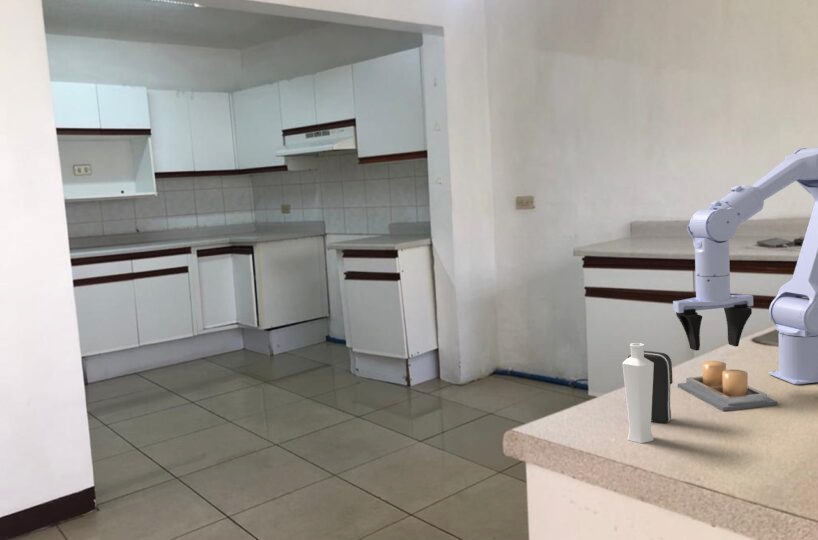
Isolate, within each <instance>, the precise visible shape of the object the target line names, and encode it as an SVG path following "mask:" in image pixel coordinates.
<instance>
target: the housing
mask: <svg viewBox="0 0 818 540" xmlns="http://www.w3.org/2000/svg"><path fill="white" fill-rule="evenodd" d="M748 378H749V377H748V372H747V371H745V370H742V369H726V370H724V371H723V372H722V380H723V385H720V386H710V387H709V386H707V385H705V384H703V375H701V376H700V375H699V376H691V377H690V376H689V377H686V378H685V379H686V382H682V383H679V382H678V383H677V387H678V388H679V389H681V390H683V391H685V392H687V393H688V394H691V395H692V396H694V397H696V398H697V399H700V400H701V401H703V402H705V403H707V404H709V405H711V406H713V407H715V408H716V409H719V410H721V411H722V412H726V411H727V412H728V411H734V410H743V409H752V408H753V409H754V408H763V407H772V406H778V404H779V403H778V401H777V400H776V399H773V398H771V397H769V396H768V394H767V393H765V392H762V391H761V390H758V389H756V388H753V387H752V386H749V384H748V380H749V379H748Z"/></svg>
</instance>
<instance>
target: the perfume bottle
mask: <svg viewBox="0 0 818 540" xmlns="http://www.w3.org/2000/svg"><path fill="white" fill-rule="evenodd" d="M629 347H630V354H631V357H629V358H628V357H627V358H626V359H624V361H623V362H622V364H621V365H622V370H623V381H624V383H623V384H624V390H625V391H624V392H625V400H626V410H627V421H628V428H629V430H628V434H627V435H628V436H627V441H632V442H634V443H639V444H644V443H645V444H646V443H649V442H652V441H654V439H655V438H654V436H653V433H652V421H651V413H652V391H653V369H654V363H653V362H651V361H650V360H648V359H646V358H645V357H644V351H645V350H644V349H645V348H644V347H645V344H644V343H642V342H636V343H635V342H633V343H632V342H631V343H630V344H629Z"/></svg>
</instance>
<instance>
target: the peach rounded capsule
mask: <svg viewBox="0 0 818 540" xmlns="http://www.w3.org/2000/svg"><path fill="white" fill-rule="evenodd" d="M724 370H727V363H726V362H724V361H720V360H705V361H703V362H702V376H703V384H705V385H707V386H709V387H710V386H720V385H723V380H722V372H723V371H724Z"/></svg>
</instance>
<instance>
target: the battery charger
mask: <svg viewBox="0 0 818 540" xmlns="http://www.w3.org/2000/svg"><path fill="white" fill-rule="evenodd" d="M629 357H631V353H630V354H629V355H628V357H627V358H629ZM644 357H645V358H646V359H648V360H650V361H651V362H653V363H654V369H653V391H652V413H651V422H656V423H657V422H658V423H666V424H667V423H669V422H670V420H671V419H672V411H671V385H672V384H673V363H672V359H671V357H670V356H669V354H667V353H664V352H660V351H651V350H644Z"/></svg>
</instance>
